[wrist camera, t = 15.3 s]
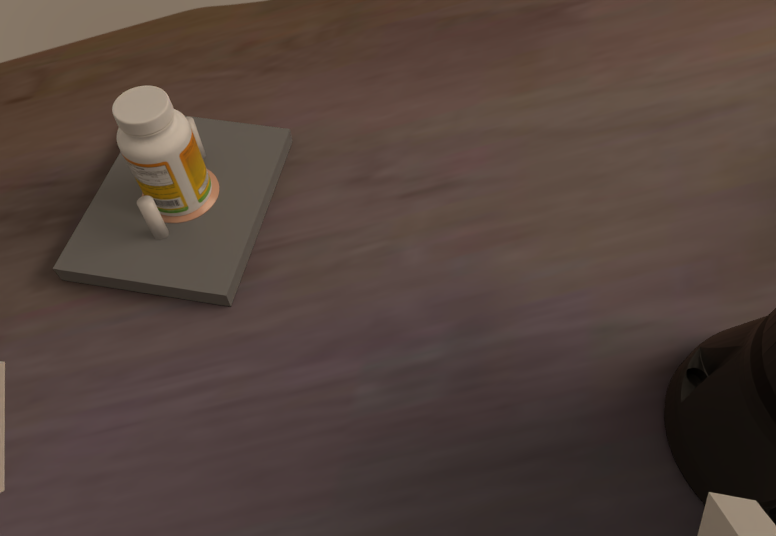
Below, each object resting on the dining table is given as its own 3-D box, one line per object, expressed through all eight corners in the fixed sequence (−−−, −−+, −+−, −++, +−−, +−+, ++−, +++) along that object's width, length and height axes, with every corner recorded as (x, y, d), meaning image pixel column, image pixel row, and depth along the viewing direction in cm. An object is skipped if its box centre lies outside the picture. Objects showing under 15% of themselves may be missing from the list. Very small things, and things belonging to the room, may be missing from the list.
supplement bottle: (193, 159, 54) (156, 68, 46) (225, 196, 52) (192, 106, 44) (136, 189, 52) (88, 100, 44) (167, 229, 50) (122, 142, 42)
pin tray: (292, 141, 58) (283, 94, 53) (230, 306, 48) (213, 265, 43) (150, 123, 59) (129, 75, 55) (61, 279, 49) (27, 237, 45)
